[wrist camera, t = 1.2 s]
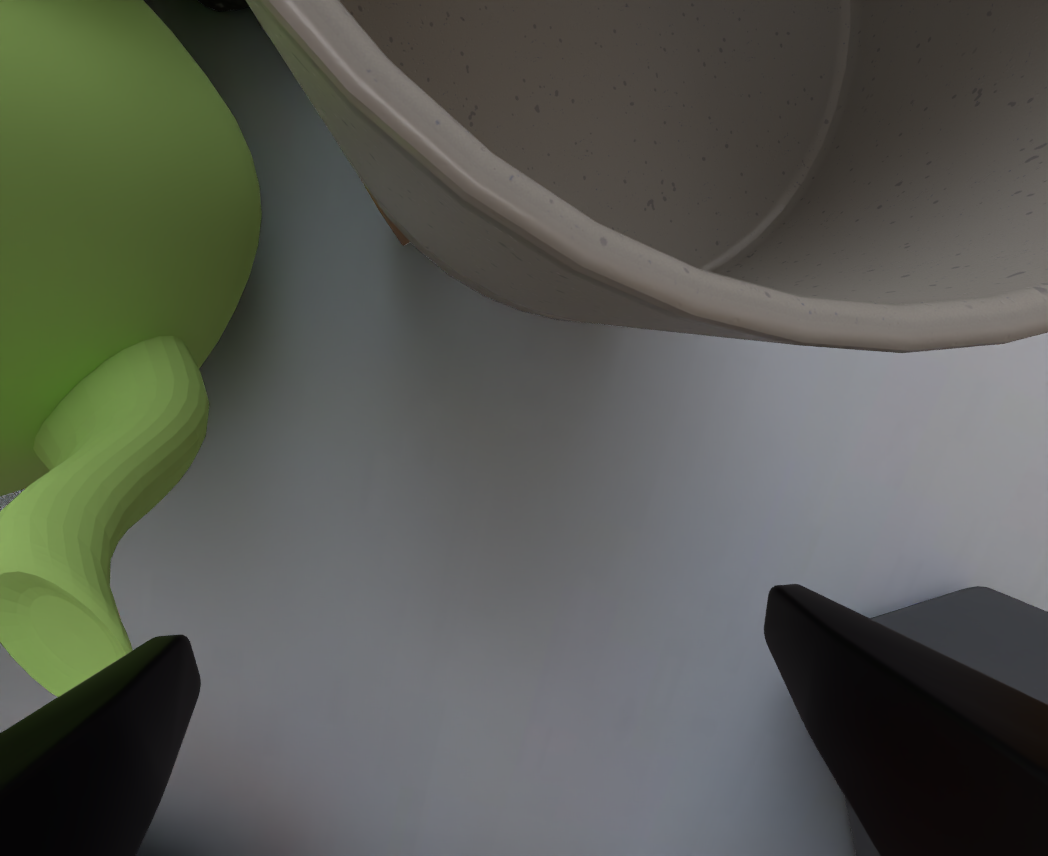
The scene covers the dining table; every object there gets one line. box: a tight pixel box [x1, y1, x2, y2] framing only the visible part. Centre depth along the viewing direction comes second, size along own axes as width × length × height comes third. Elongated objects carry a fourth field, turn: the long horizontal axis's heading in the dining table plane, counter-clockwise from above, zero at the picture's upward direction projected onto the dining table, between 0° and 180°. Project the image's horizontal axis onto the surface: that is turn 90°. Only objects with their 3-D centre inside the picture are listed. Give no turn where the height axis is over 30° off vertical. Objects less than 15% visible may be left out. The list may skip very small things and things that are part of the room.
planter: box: [246, 0, 1048, 353], centre depth 12 cm, size 13×13×18 cm
